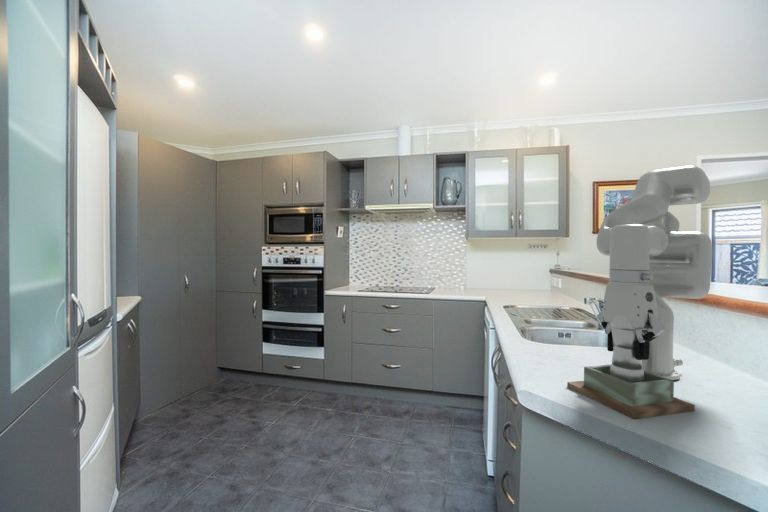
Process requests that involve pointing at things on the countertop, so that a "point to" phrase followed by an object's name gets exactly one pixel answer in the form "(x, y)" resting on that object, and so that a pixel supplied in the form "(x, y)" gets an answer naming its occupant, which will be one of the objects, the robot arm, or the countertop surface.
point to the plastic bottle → (625, 351)
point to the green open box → (631, 393)
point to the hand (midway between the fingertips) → (627, 354)
